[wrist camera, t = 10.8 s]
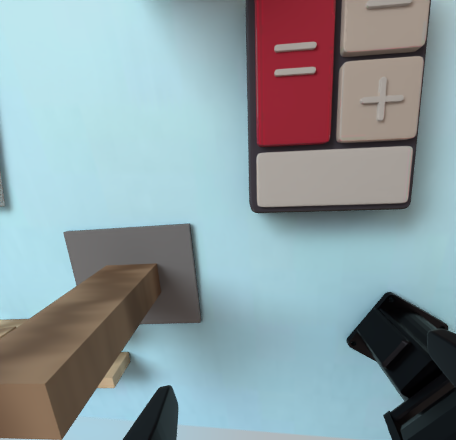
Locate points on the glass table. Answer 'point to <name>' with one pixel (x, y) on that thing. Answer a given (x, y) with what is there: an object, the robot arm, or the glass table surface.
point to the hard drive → (1, 193)
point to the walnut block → (70, 350)
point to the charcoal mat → (144, 254)
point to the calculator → (333, 102)
